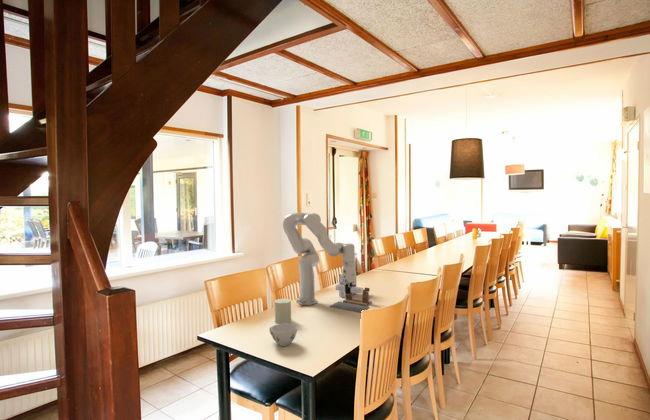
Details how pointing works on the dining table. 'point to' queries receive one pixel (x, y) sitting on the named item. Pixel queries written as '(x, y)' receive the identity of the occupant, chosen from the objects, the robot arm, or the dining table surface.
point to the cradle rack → (362, 302)
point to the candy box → (342, 293)
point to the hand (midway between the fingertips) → (349, 292)
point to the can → (282, 311)
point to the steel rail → (352, 289)
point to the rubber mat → (349, 306)
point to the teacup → (283, 333)
